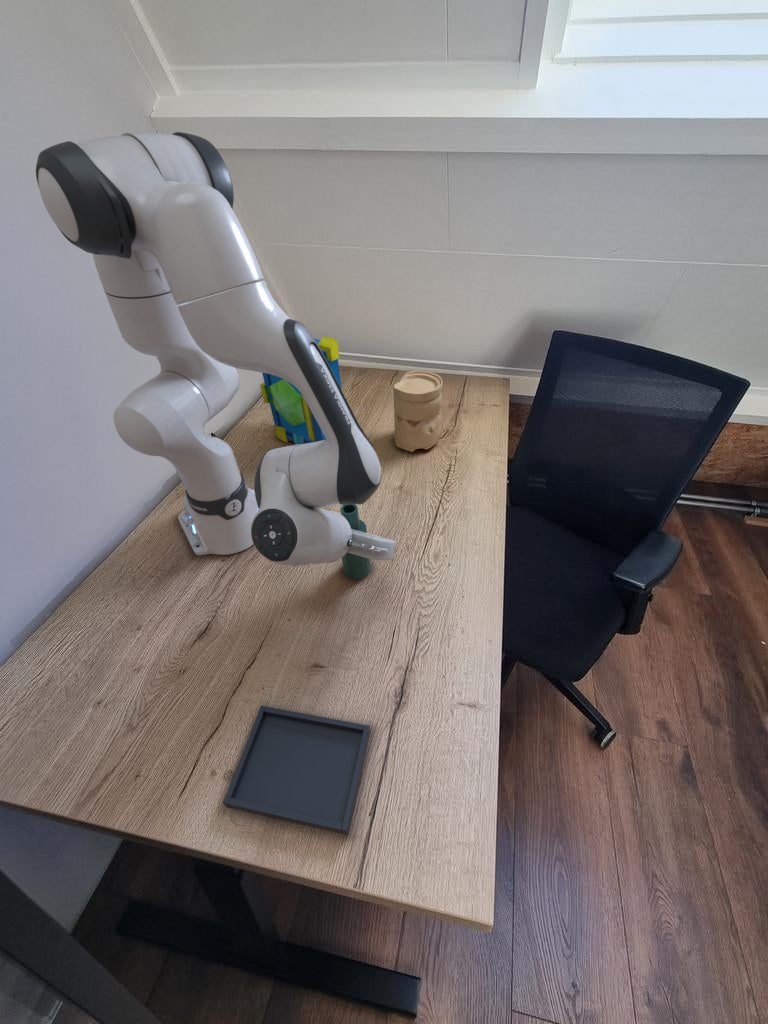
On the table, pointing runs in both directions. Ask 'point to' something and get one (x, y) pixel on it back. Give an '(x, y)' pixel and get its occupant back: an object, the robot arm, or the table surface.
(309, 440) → the decorative book
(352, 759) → the tray
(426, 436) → the container
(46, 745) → the table surface
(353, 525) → the flask
